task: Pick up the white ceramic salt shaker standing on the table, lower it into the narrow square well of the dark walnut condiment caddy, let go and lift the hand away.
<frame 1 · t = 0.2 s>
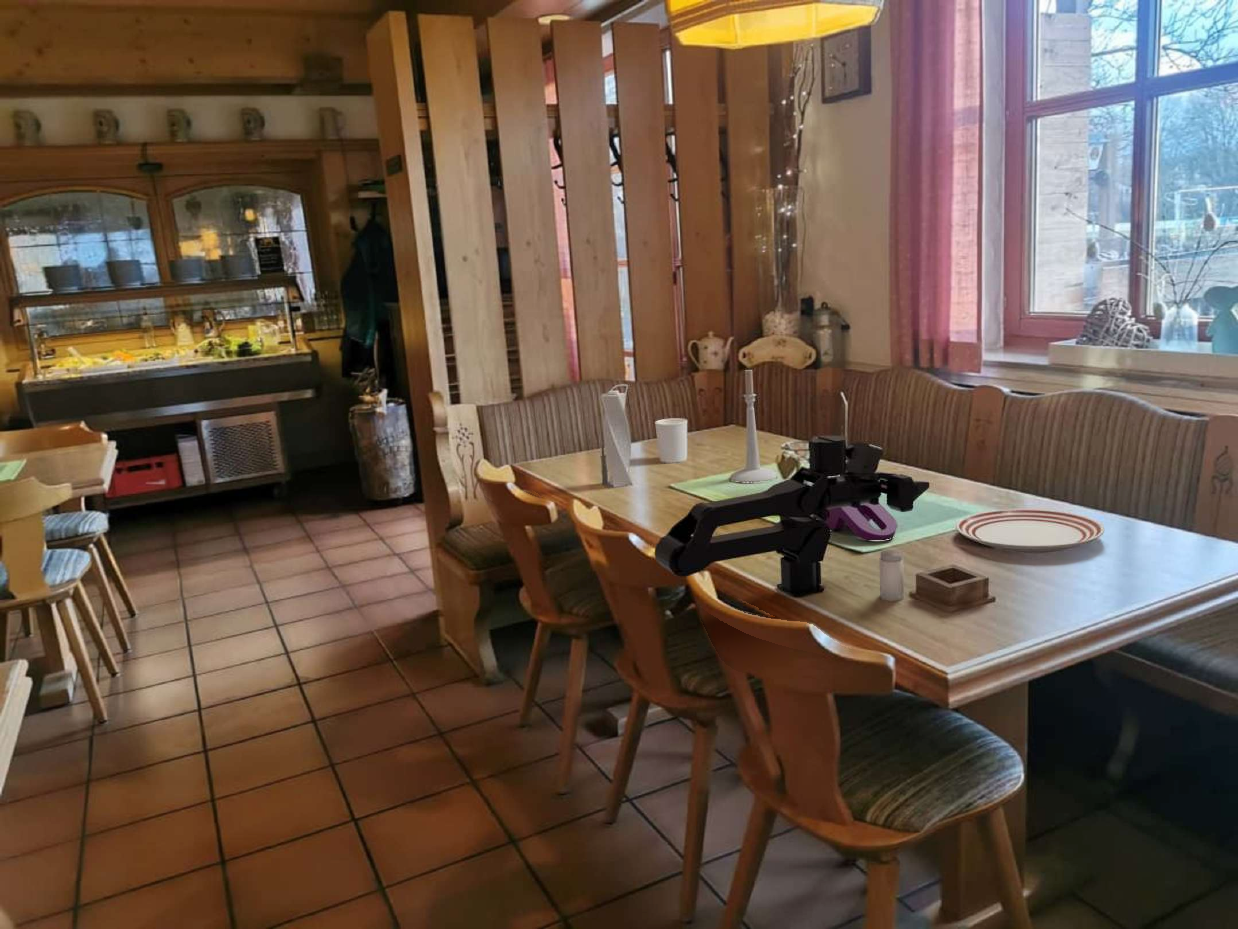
hand: (912, 480, 178), 16 cm above the table, tool horizontal, fingers open, 9 cm apart
white cup: (673, 460, 286), on the table
condiment caddy: (951, 597, 163), on the table
skyscraper: (620, 485, 261), on the table
candlestick: (753, 478, 257), on the table
dinner plate: (1027, 541, 191), on the table
mounting bracket: (859, 533, 204), on the table
salt shaker: (891, 596, 166), on the table
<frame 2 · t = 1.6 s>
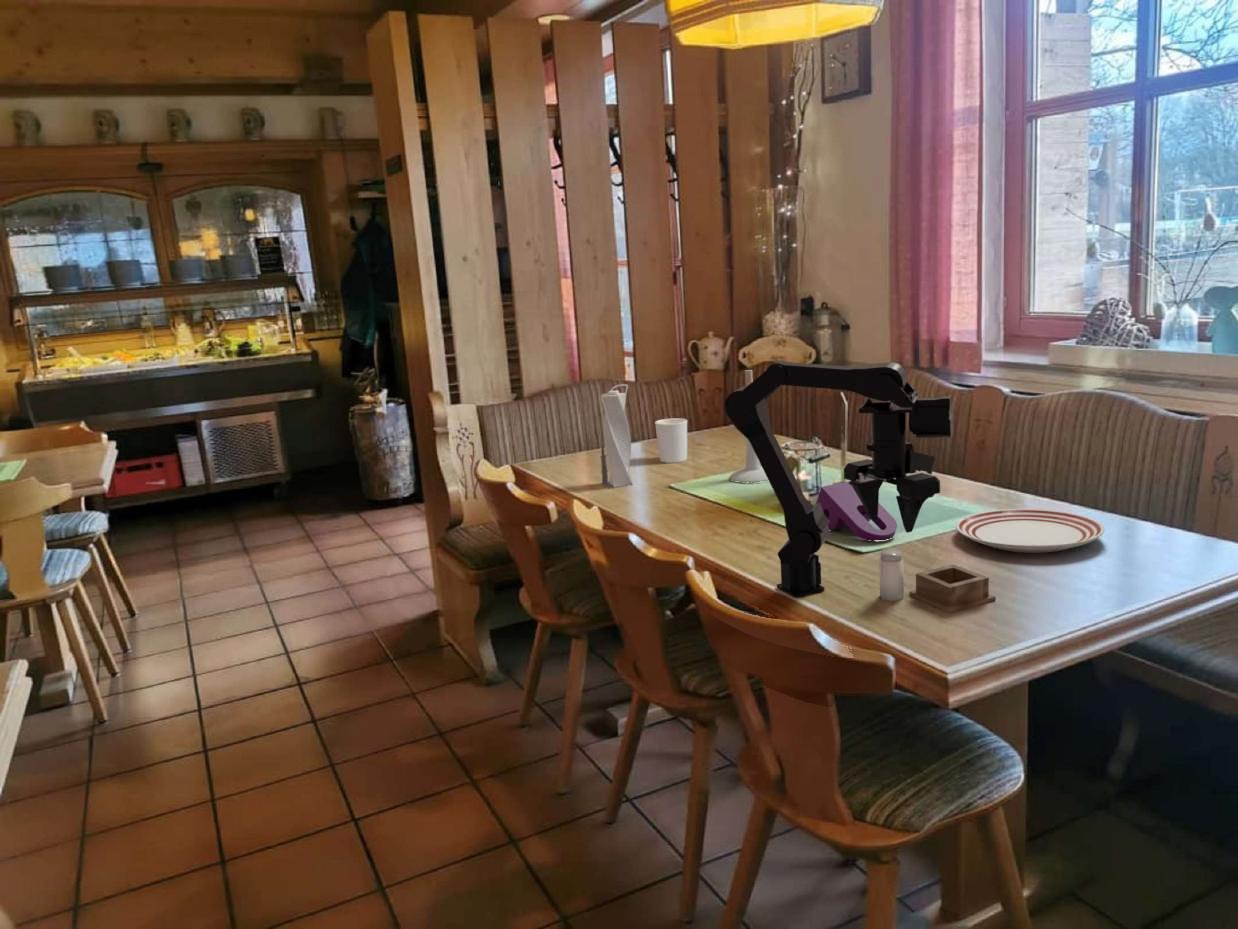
hand: (891, 525, 163), 13 cm above the table, tool pointing down, fingers open, 9 cm apart
nothing on the table moved.
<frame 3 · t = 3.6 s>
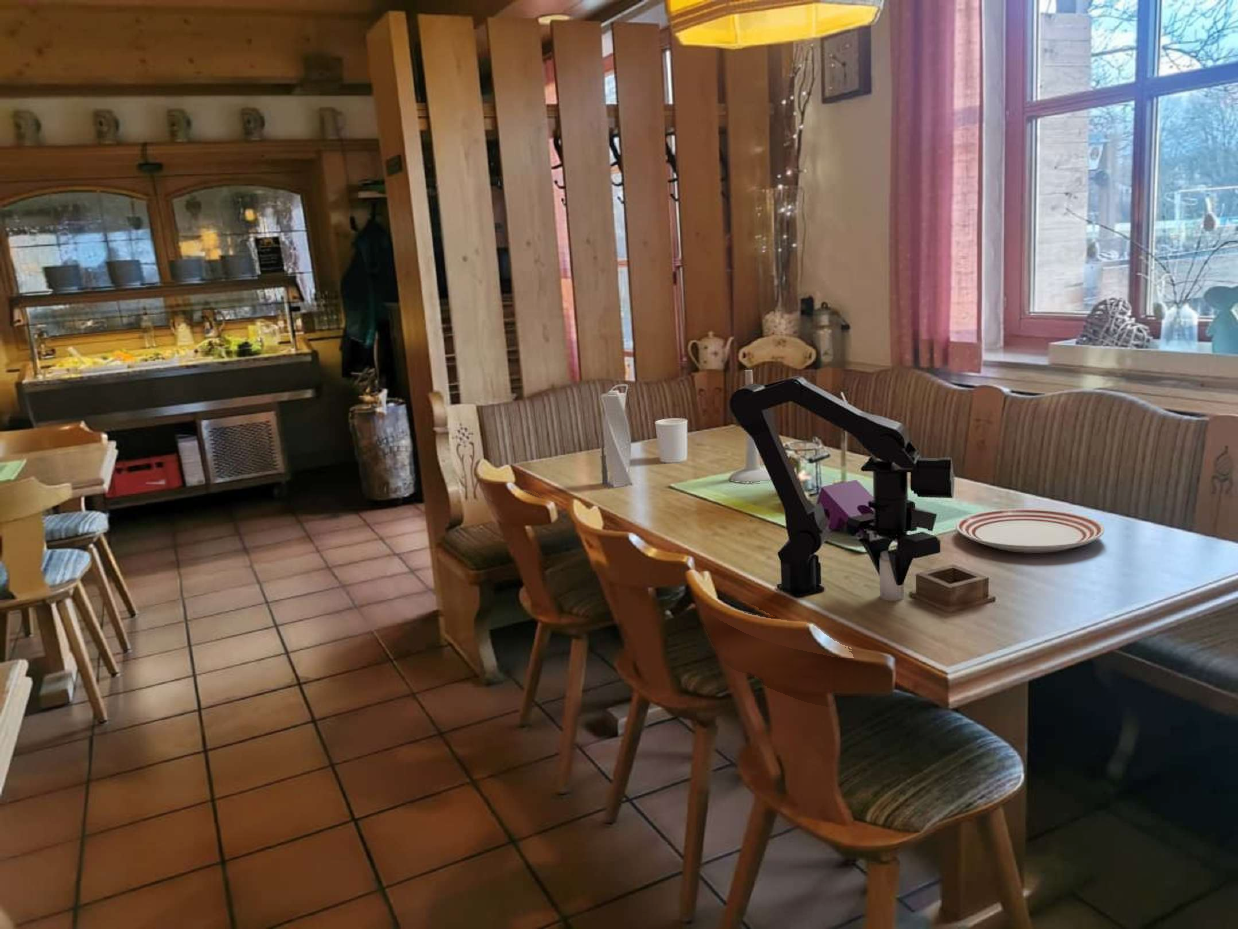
hand: (891, 581, 165), 3 cm above the table, tool pointing down, fingers closed on salt shaker, 4 cm apart
salt shaker: (891, 596, 166), on the table, touching gripper
everything else where it was.
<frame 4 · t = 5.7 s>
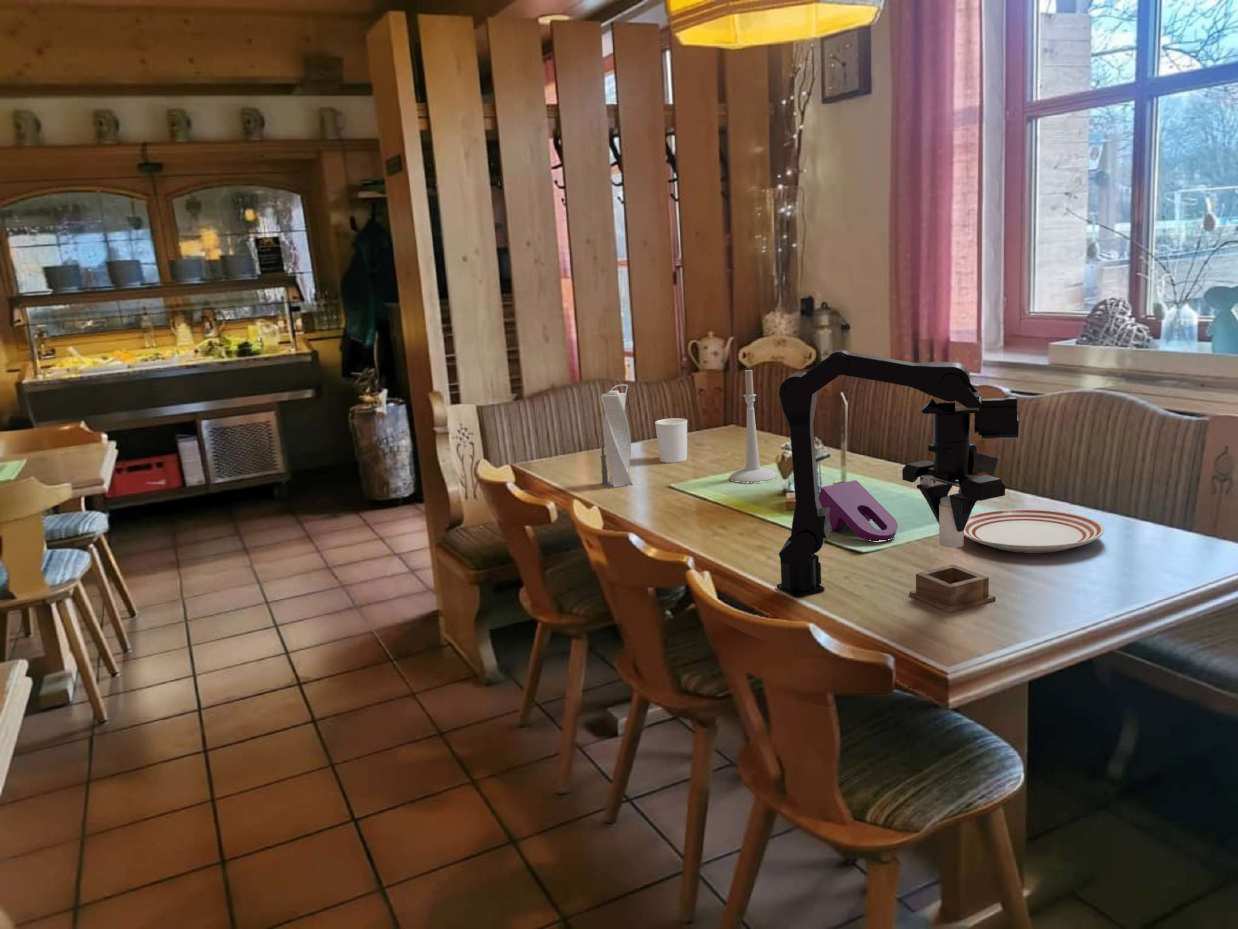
hand: (951, 528, 161), 13 cm above the table, tool pointing down, fingers closed on salt shaker, 4 cm apart
salt shaker: (951, 543, 161), point 10 cm above the table, touching gripper
everything else where it was.
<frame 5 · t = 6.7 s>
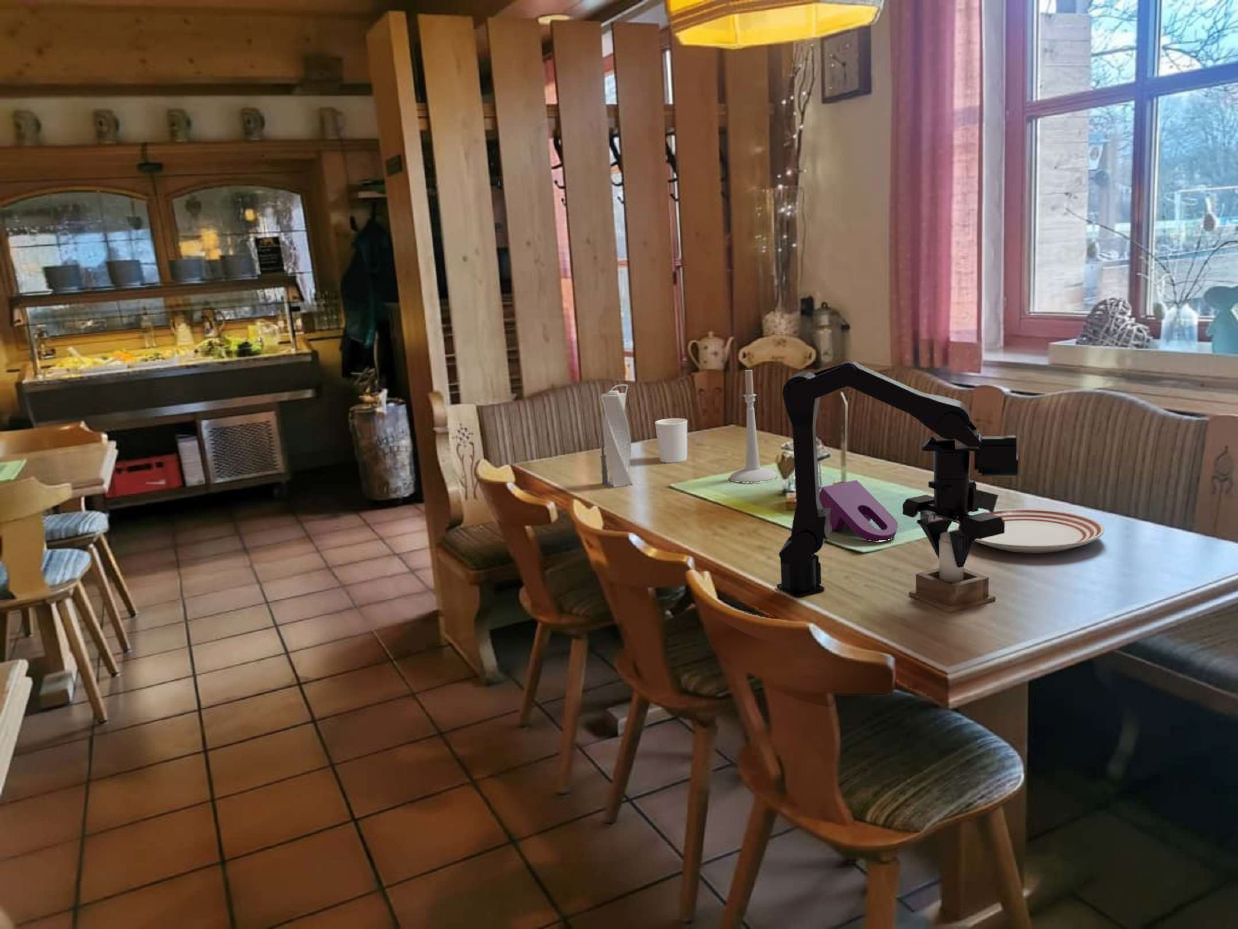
hand: (951, 563, 162), 6 cm above the table, tool pointing down, fingers closed on salt shaker, 4 cm apart
salt shaker: (951, 579, 163), point 3 cm above the table, touching gripper
everything else where it was.
when the fingers open (5 cm above the table, at t = 7.6 s): salt shaker drops 2 cm, resting on condiment caddy.
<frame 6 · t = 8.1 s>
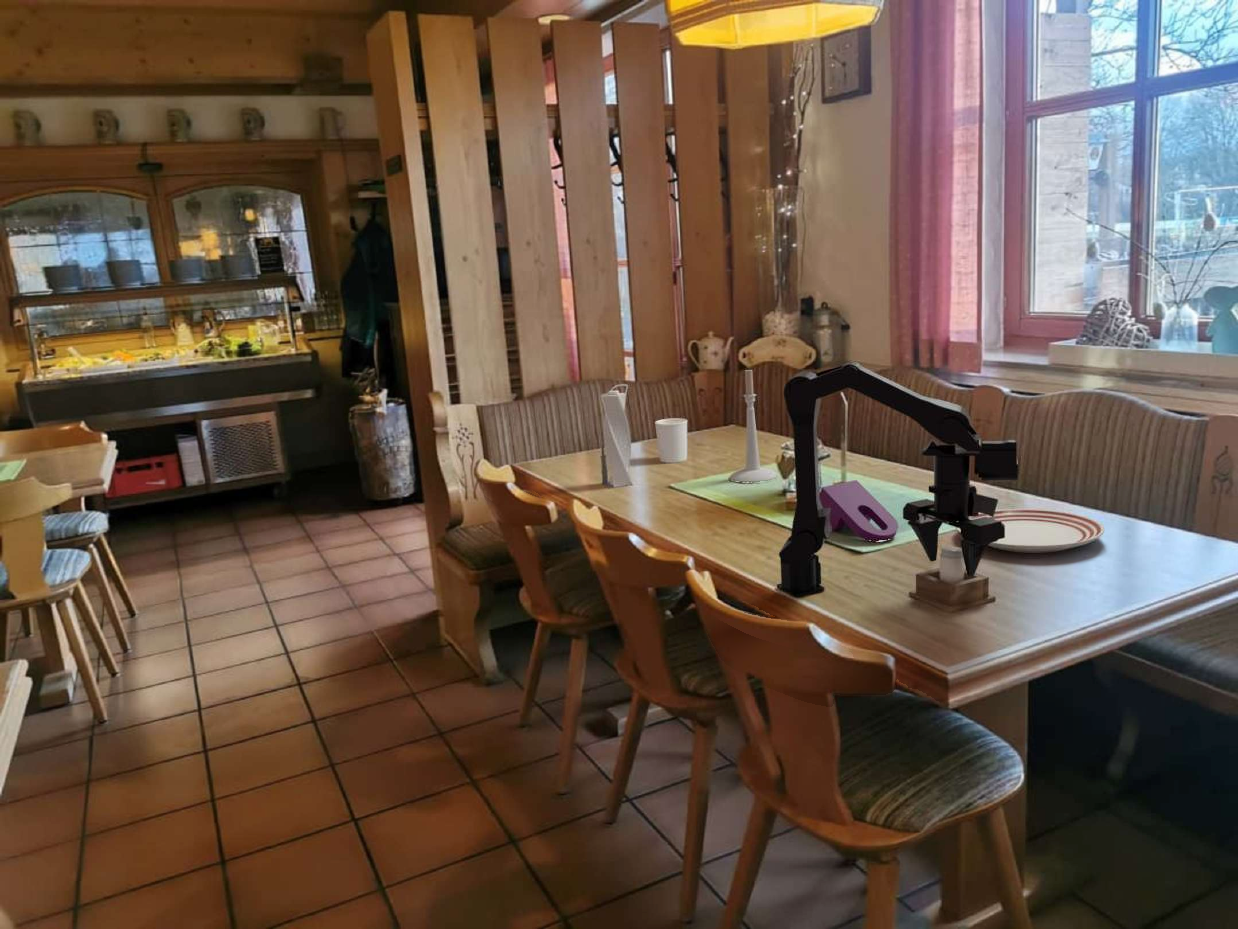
hand: (951, 568, 162), 5 cm above the table, tool pointing down, fingers open, 9 cm apart
salt shaker: (951, 593, 163), point 1 cm above the table, touching condiment caddy
everything else where it was.
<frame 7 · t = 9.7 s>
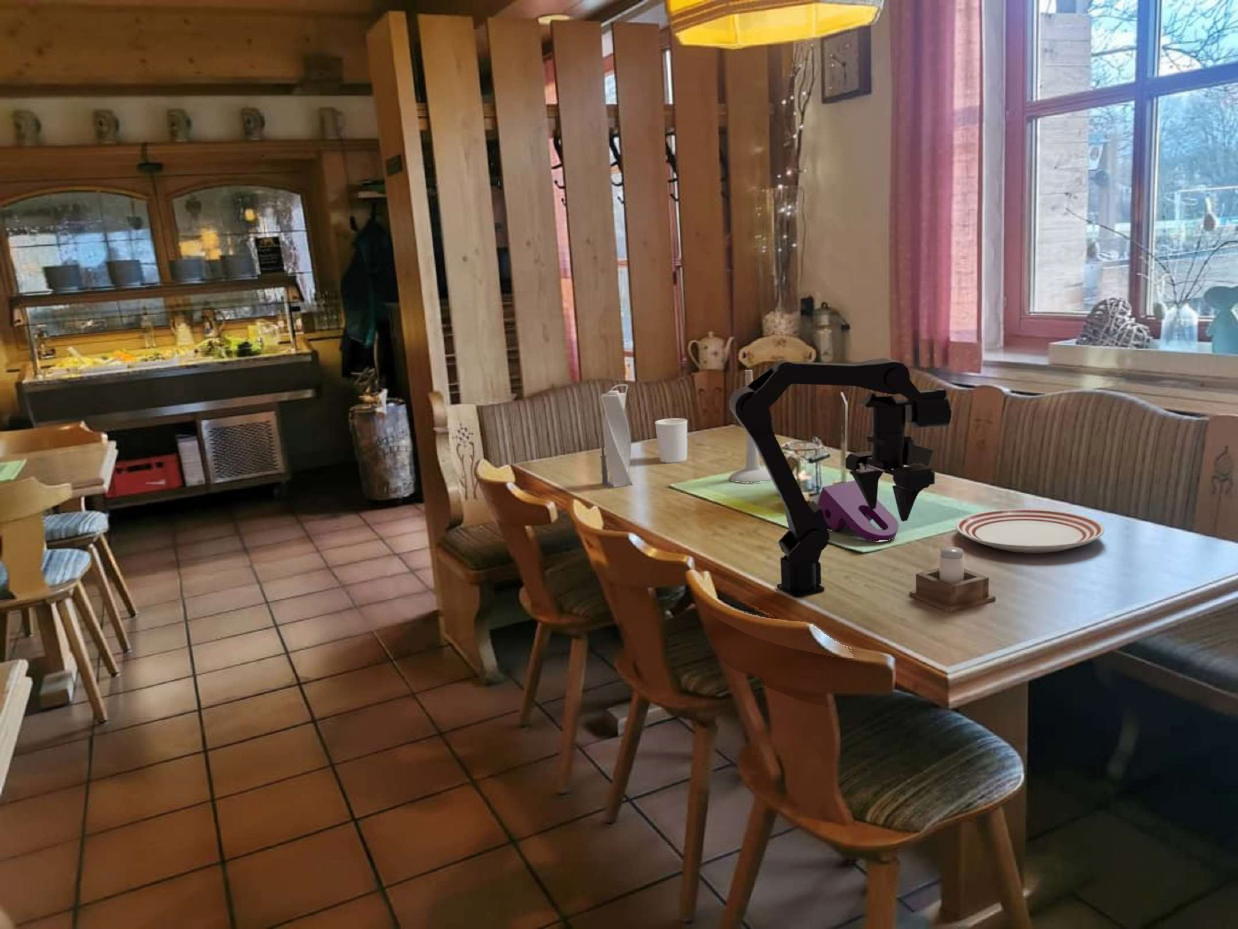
hand: (888, 514, 171), 13 cm above the table, tool pointing down, fingers open, 9 cm apart
nothing on the table moved.
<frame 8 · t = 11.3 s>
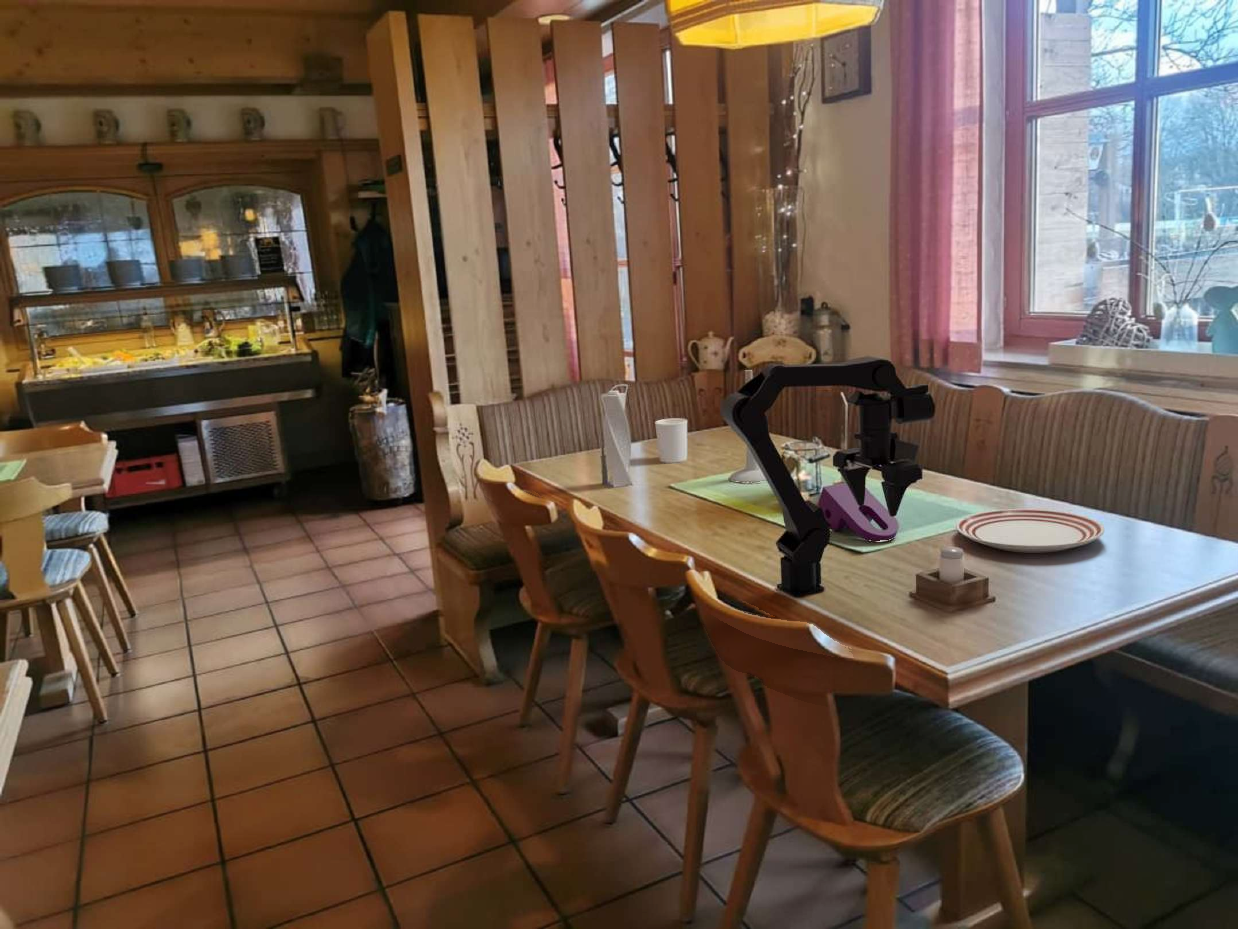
hand: (876, 510, 173), 13 cm above the table, tool pointing down, fingers open, 9 cm apart
nothing on the table moved.
at the end: salt shaker 0.0 cm off-centre on the condiment caddy, point 0.6 cm above the condiment caddy's base; salt shaker tilted 0°; the gripper is holding nothing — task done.
